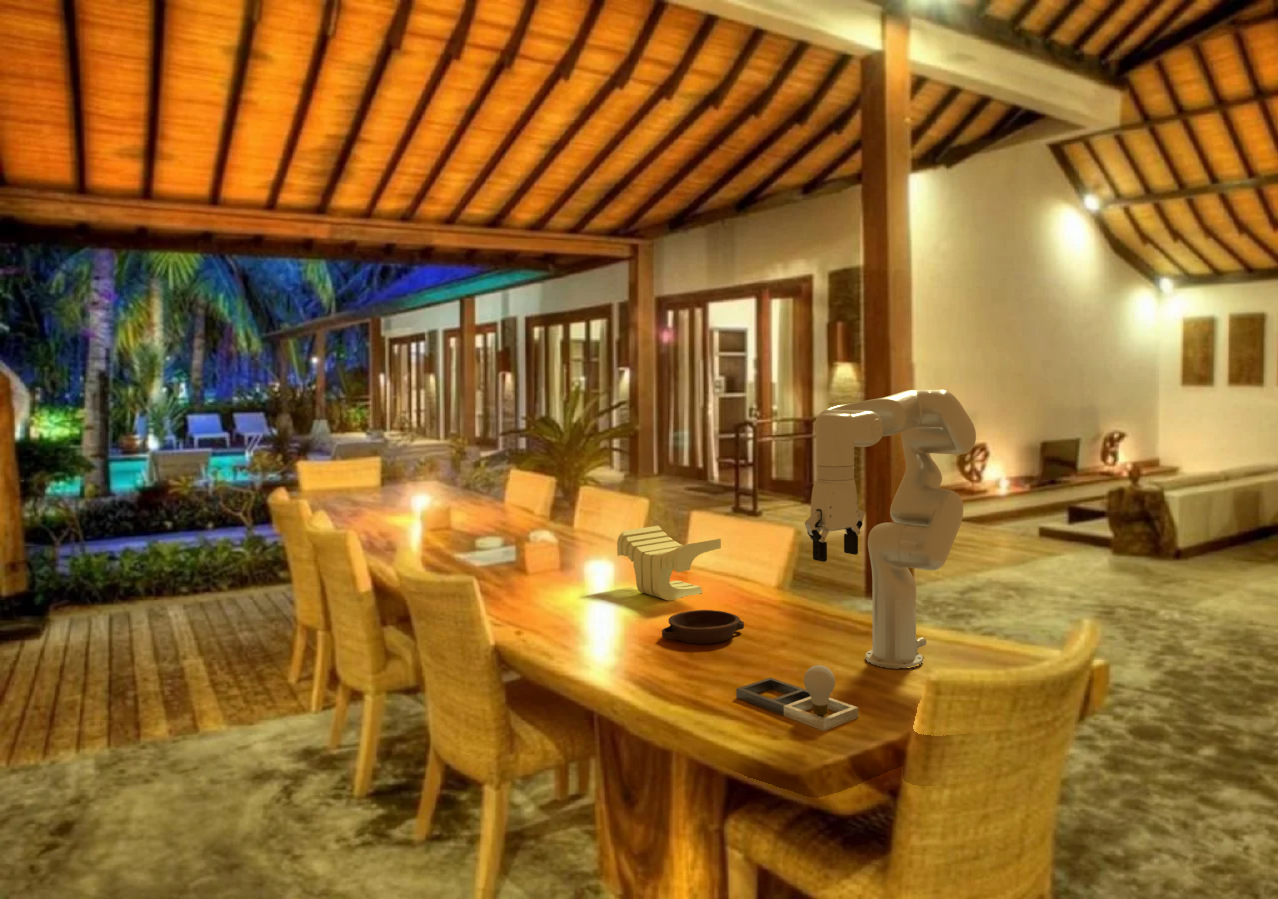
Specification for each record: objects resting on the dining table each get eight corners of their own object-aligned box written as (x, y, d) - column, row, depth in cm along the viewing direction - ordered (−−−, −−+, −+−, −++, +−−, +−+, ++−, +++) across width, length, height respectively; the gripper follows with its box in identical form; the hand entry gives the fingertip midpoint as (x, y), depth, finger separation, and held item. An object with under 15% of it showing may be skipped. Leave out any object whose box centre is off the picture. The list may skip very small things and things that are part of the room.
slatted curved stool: (618, 588, 284) (616, 531, 282) (659, 581, 293) (658, 525, 291) (678, 608, 259) (677, 545, 258) (721, 599, 269) (720, 538, 267)
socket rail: (770, 686, 194) (770, 677, 194) (858, 717, 176) (858, 707, 176) (736, 698, 188) (736, 688, 188) (823, 731, 170) (823, 720, 170)
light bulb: (831, 710, 180) (830, 660, 180) (839, 721, 175) (838, 669, 174) (801, 712, 180) (800, 662, 179) (809, 723, 174) (807, 671, 173)
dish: (759, 641, 227) (759, 622, 226) (677, 653, 219) (676, 632, 219) (729, 623, 243) (728, 605, 243) (651, 633, 236) (650, 614, 235)
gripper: (847, 468, 195) (848, 548, 196) (792, 476, 184) (793, 560, 186) (877, 471, 189) (877, 553, 191) (821, 479, 178) (822, 566, 180)
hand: (835, 557), depth 188 cm, fingers open, 9 cm apart
